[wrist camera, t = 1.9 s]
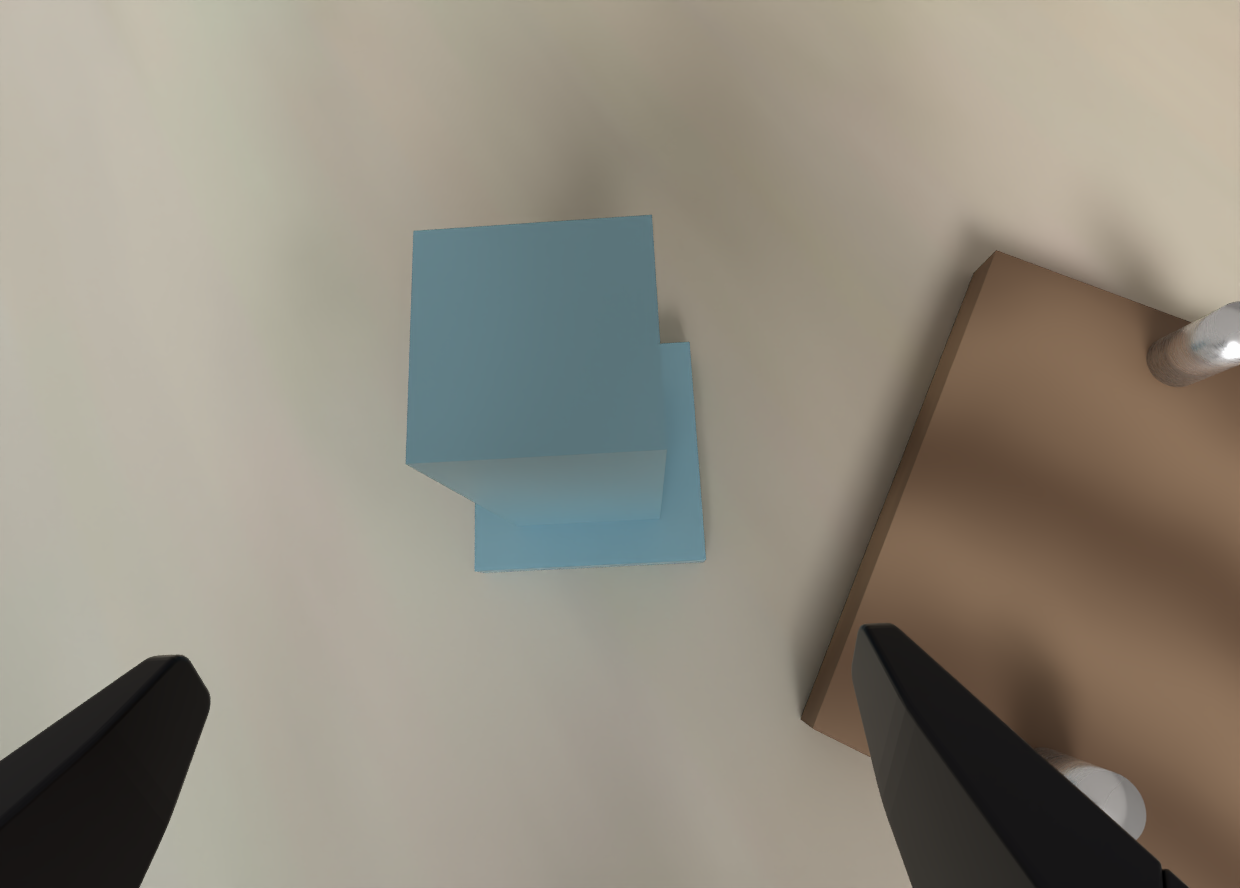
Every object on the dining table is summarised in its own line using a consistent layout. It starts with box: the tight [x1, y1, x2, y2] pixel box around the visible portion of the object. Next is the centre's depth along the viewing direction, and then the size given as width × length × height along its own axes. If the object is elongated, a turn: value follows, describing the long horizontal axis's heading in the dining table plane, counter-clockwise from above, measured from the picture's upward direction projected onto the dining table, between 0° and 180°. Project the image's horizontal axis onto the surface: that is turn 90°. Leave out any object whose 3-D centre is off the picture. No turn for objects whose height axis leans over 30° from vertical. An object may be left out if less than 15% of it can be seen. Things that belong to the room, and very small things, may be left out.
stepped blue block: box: [406, 215, 706, 573], centre depth 16 cm, size 7×7×10 cm
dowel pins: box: [1034, 302, 1240, 840], centre depth 17 cm, size 15×2×2 cm, turn 154°
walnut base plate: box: [801, 250, 1240, 888], centre depth 19 cm, size 16×12×2 cm
